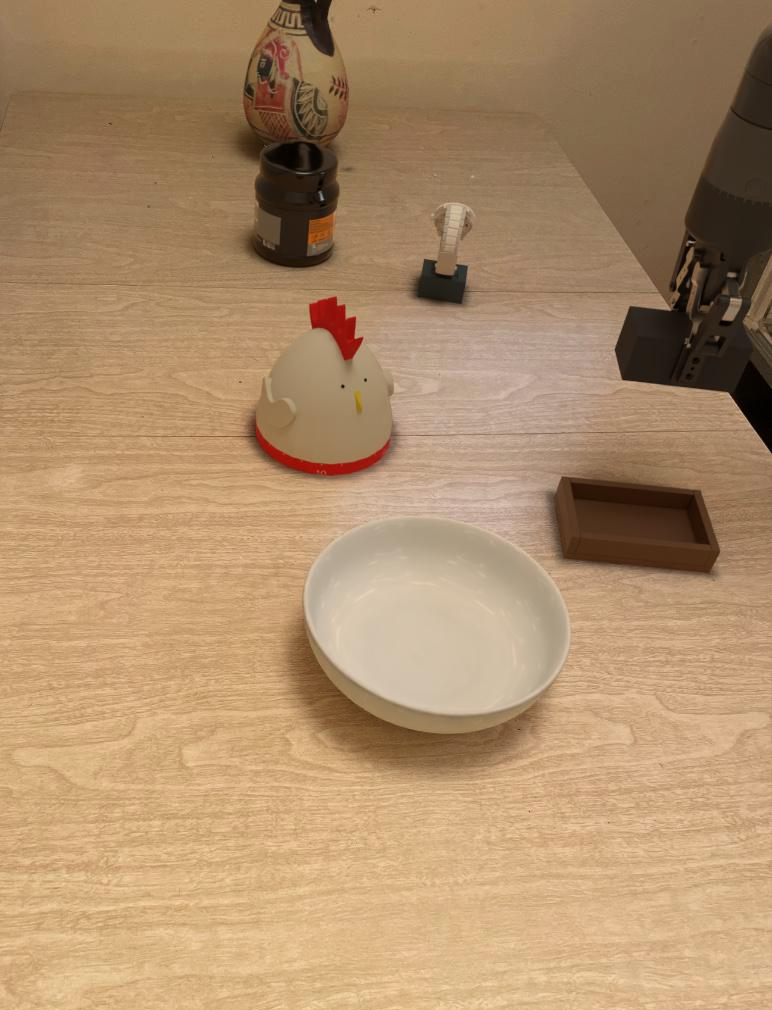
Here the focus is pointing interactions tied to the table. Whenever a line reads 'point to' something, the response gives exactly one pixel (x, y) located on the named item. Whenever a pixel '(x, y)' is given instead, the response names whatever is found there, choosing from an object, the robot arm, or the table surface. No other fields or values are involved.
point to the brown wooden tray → (635, 524)
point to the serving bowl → (435, 623)
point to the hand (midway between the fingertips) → (675, 365)
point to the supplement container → (296, 203)
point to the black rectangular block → (674, 351)
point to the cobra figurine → (447, 255)
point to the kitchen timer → (326, 399)
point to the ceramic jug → (296, 77)
